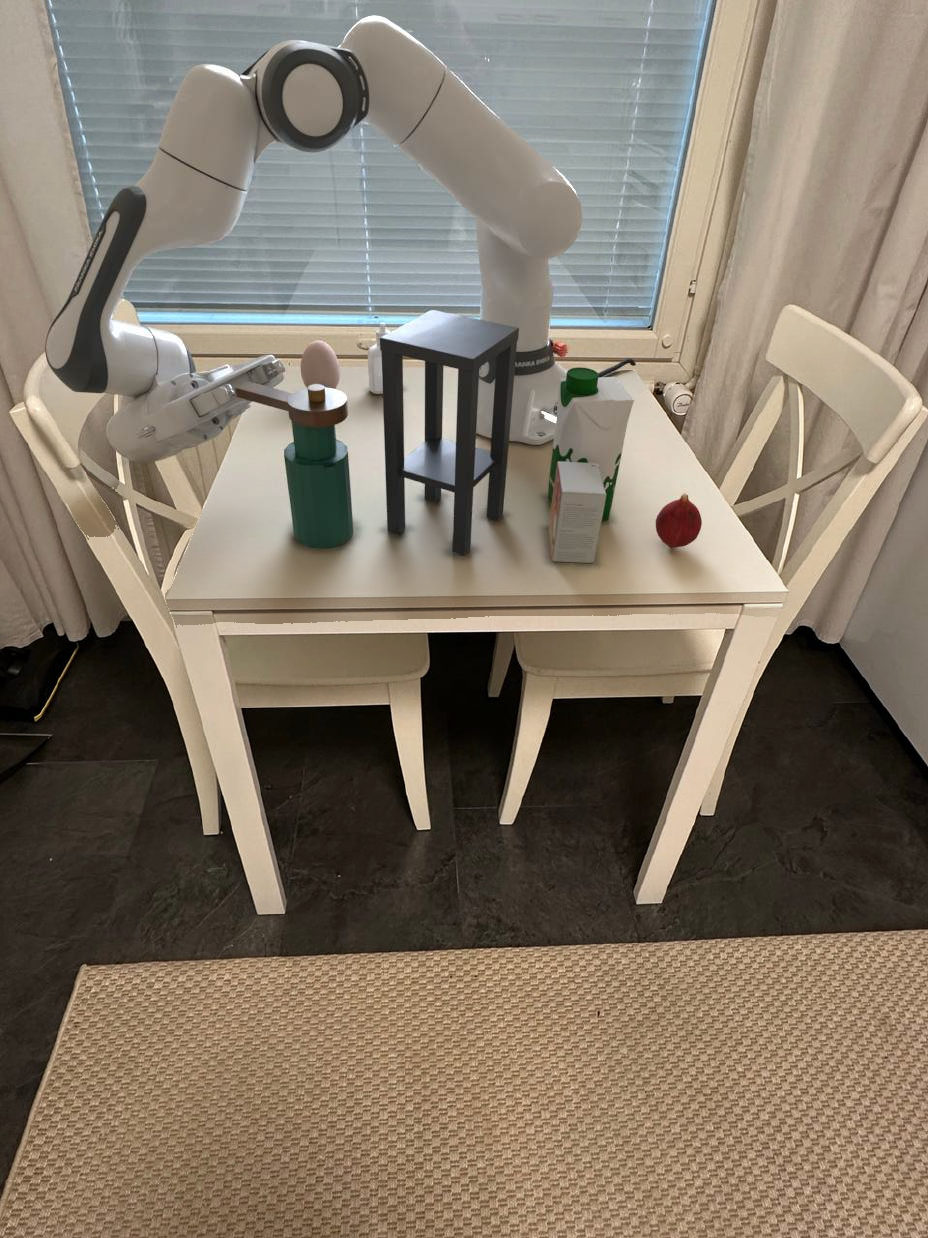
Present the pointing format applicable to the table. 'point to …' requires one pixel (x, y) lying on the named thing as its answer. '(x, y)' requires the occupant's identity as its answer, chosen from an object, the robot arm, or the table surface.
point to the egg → (320, 365)
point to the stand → (438, 458)
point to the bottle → (319, 487)
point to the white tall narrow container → (376, 362)
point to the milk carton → (591, 426)
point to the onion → (678, 522)
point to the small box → (576, 512)
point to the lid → (301, 403)
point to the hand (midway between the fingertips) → (255, 378)
